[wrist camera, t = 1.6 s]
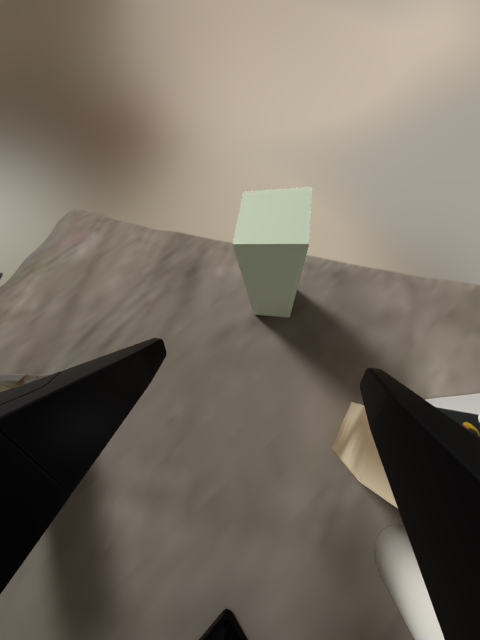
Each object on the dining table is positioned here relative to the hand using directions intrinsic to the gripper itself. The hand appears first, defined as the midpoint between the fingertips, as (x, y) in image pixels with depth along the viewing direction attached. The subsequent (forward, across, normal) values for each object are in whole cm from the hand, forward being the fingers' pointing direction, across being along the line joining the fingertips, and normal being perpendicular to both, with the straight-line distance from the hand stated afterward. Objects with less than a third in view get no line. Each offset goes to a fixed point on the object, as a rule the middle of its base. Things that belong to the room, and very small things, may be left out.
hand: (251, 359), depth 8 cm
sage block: (+16, 0, +3) cm, 17 cm away
